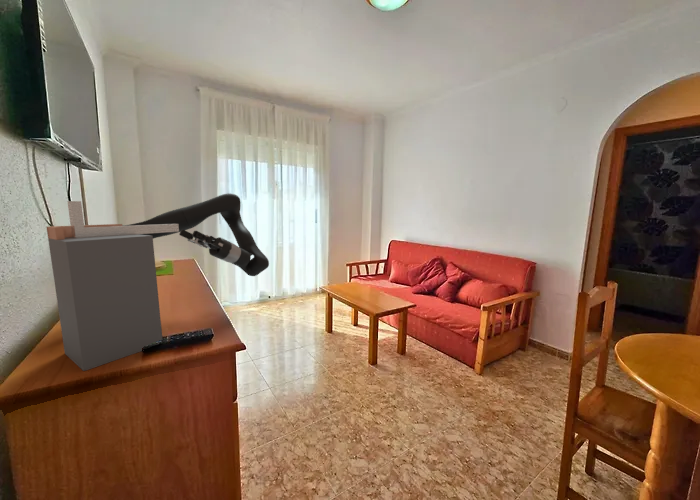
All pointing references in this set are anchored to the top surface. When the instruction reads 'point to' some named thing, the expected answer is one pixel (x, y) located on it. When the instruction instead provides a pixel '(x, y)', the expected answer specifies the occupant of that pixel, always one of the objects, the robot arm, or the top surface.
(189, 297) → the top surface
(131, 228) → the aluminium bracket
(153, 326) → the charcoal stand
